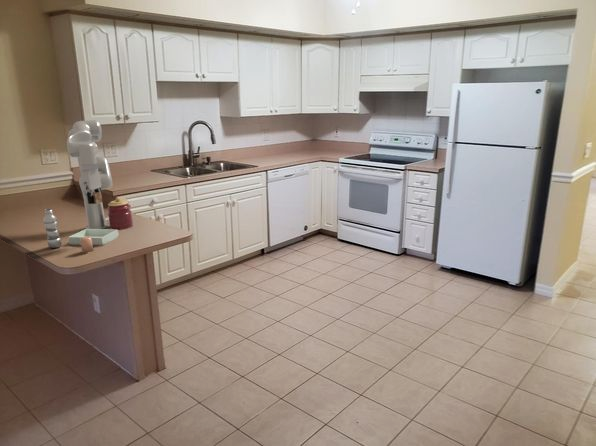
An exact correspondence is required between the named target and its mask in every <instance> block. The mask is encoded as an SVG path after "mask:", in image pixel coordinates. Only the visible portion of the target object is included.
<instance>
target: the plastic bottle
mask: <svg viewBox="0 0 596 446" xmlns="http://www.w3.org/2000/svg"><path fill="white" fill-rule="evenodd" d="M43 212H44V217H43V220H42V222H43V225H44V228H45V231H46V238H47V240H46V241H47V246H48V247H49V248H50V249H56V248H59V247H61V246H62V244H63V243H62V239H61V237H60V233H59V227H58V218H57V216H56V215H55V214H54V211H53V209H52V208H46V209H44V210H43Z"/></svg>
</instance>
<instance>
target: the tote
mask: <svg viewBox="0 0 596 446" xmlns="http://www.w3.org/2000/svg"><path fill="white" fill-rule="evenodd" d="M83 237H91V239H92V245H93V246H105V245H106V244H109V243H110V242H112V241H113V240H116V239H117V238H119V237H120V236H119V229H107V228H104V229H86V228H85V229H83V230H81V231H78V232H76V233H74V234H72V235H69V236H68V237H67V238H68V244H69V245H76V244H79V246H81V241H80V239H81V238H83Z"/></svg>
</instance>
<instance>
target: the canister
mask: <svg viewBox="0 0 596 446" xmlns="http://www.w3.org/2000/svg"><path fill="white" fill-rule="evenodd" d="M129 203H130V202H129V201H127V200H126V199H121V198H120V197H118V196H117V197H116V198H115V200H112V201H110V202H109V203H108V204H107V205H108V207H107V208H106V209H107V211H108V213H107V217H108V218H109V220H108V221H109V223H108V224H109V227H110V230H125V229H128V228H129V229H130V228H132V227H133V226H134V221H133V215H132V210H131V205H130V204H129Z"/></svg>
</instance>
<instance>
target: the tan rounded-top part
mask: <svg viewBox="0 0 596 446" xmlns="http://www.w3.org/2000/svg"><path fill="white" fill-rule="evenodd" d="M80 241H81V245H80V246H81V250H82V251H81V252H82V254H89V253H88V252H91V253H93V252H94V245H92V239H91V237H83V238H81V239H80ZM92 251H93V252H92Z"/></svg>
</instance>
